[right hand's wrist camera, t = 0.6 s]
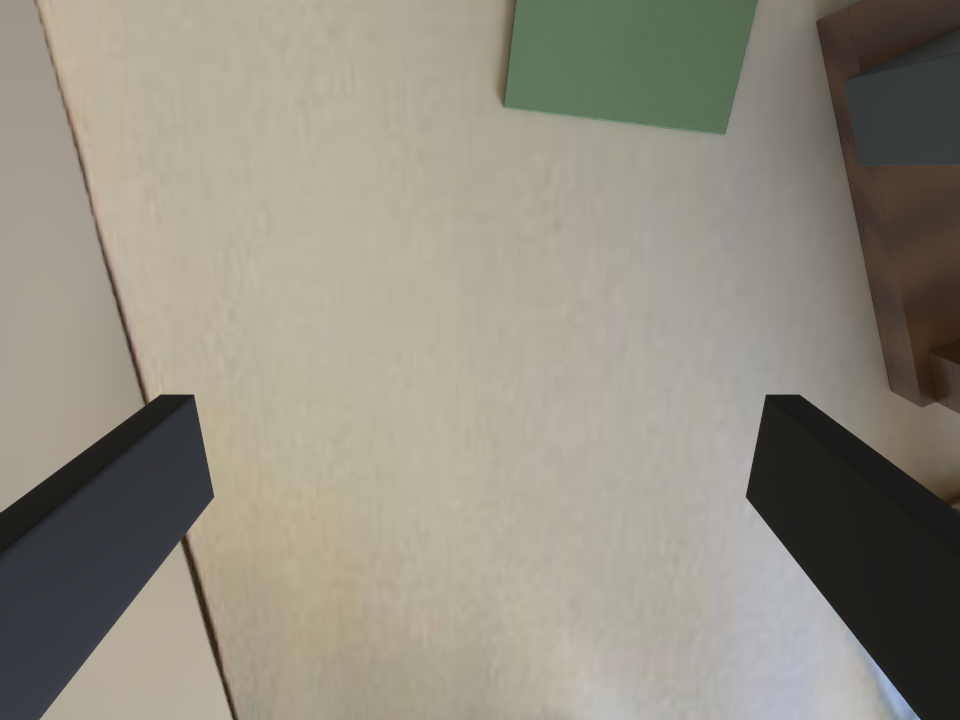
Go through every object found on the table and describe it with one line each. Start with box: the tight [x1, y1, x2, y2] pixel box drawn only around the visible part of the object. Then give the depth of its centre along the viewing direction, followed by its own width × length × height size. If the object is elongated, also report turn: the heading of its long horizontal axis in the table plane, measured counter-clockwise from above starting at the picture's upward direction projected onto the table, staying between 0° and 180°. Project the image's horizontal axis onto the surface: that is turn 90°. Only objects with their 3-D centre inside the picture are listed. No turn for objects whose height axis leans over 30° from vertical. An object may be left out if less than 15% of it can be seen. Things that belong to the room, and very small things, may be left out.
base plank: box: [817, 0, 960, 414], centre depth 32 cm, size 26×6×9 cm, turn 24°
